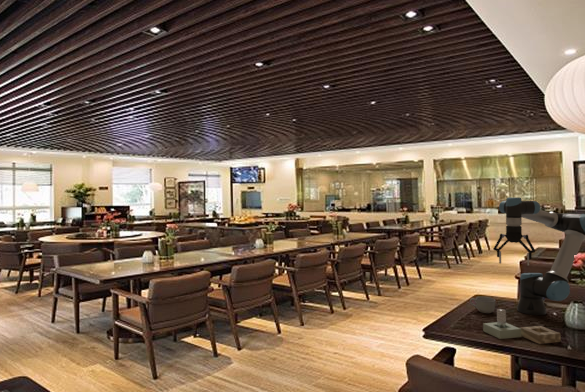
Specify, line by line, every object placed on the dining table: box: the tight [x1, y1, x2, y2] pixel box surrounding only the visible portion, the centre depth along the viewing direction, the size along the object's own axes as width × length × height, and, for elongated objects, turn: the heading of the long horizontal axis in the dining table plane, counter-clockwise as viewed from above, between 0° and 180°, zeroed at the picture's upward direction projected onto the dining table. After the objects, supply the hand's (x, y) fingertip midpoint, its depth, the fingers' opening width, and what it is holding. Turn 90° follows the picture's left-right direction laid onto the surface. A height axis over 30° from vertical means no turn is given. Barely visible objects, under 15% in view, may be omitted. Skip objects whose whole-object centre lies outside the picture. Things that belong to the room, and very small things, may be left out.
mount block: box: [519, 325, 562, 345], centre depth 202 cm, size 12×12×4 cm
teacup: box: [469, 296, 496, 314], centre depth 249 cm, size 14×11×8 cm
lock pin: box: [496, 308, 507, 328], centre depth 208 cm, size 4×4×12 cm
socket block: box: [482, 321, 522, 340], centre depth 208 cm, size 12×12×4 cm
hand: (514, 264), depth 229 cm, fingers open, 13 cm apart
